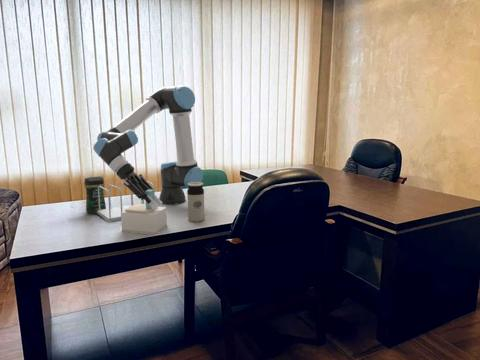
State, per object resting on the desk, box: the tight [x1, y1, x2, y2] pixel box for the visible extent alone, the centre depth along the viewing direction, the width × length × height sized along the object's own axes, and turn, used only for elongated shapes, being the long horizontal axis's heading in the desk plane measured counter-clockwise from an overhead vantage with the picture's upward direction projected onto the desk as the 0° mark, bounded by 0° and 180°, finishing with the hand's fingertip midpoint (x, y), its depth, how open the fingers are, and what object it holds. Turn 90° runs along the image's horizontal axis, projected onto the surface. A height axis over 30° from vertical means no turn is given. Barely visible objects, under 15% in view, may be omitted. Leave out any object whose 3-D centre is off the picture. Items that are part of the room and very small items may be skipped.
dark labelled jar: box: [186, 181, 205, 223], centre depth 182 cm, size 8×8×18 cm
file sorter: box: [96, 180, 156, 223], centre depth 193 cm, size 25×17×16 cm
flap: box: [125, 189, 155, 213], centre depth 167 cm, size 11×10×9 cm
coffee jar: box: [83, 176, 107, 214], centre depth 196 cm, size 10×8×19 cm
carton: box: [120, 206, 168, 236], centre depth 169 cm, size 16×12×9 cm
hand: (158, 206), depth 166 cm, fingers closed on flap, 3 cm apart
